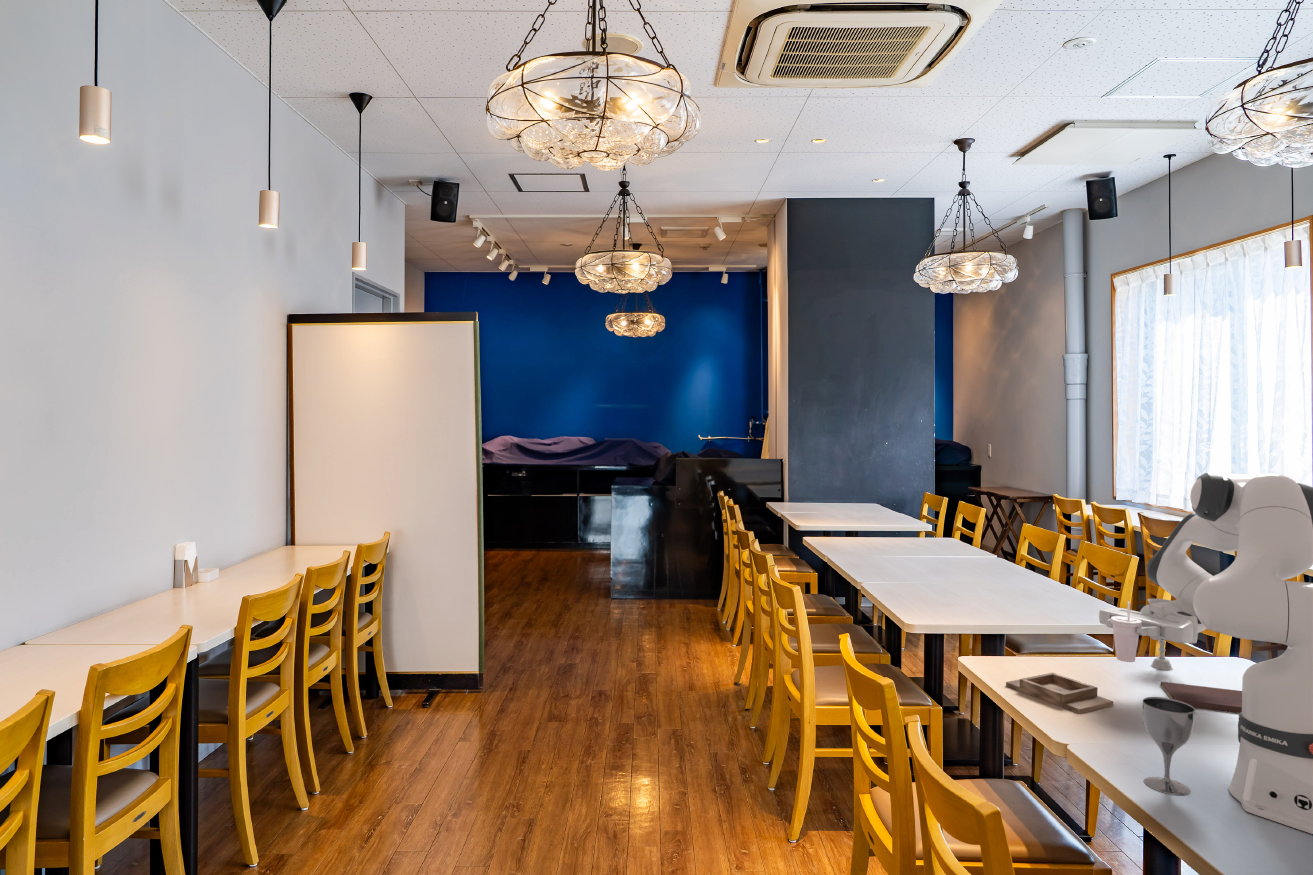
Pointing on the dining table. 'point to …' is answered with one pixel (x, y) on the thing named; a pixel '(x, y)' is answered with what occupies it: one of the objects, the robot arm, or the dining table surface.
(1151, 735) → the wine glass
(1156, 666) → the chalice
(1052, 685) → the tray
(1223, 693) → the notebook
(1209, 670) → the dining table surface
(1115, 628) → the smoothie
